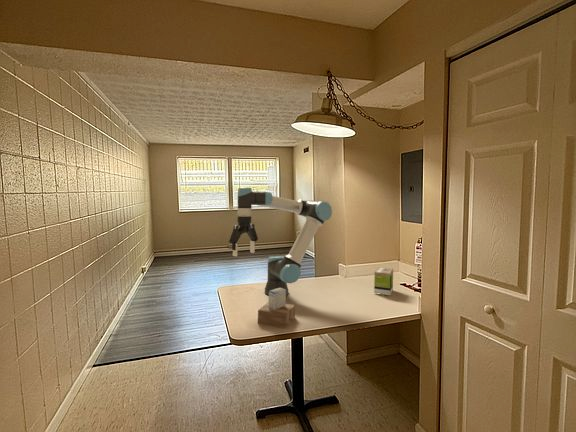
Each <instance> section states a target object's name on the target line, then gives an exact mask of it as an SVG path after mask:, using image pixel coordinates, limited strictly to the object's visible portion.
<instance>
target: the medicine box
mask: <svg viewBox="0 0 576 432" xmlns="http://www.w3.org/2000/svg"><path fill="white" fill-rule="evenodd" d="M286 297H287V295H286V289H283V288H277V289H274V290H270V291H269V295H268V302H269V308H270V309H273V310H276V309H279V308H281V307H284V306H286V304H287V303H286V300H287V299H286Z"/></svg>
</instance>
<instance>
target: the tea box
mask: <svg viewBox="0 0 576 432" xmlns="http://www.w3.org/2000/svg"><path fill="white" fill-rule="evenodd" d="M373 285H374V286H373V289H374V290H373V294H374V293H380V294H386V295H390V296H391V295H392V293H393V291H394V268H387V267H378V268H377V269H376V270H375V271H374V284H373ZM392 290H393V291H392Z"/></svg>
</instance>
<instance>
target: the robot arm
mask: <svg viewBox="0 0 576 432" xmlns="http://www.w3.org/2000/svg"><path fill="white" fill-rule="evenodd" d="M252 206H259V207H264V208H270V209H275V210H280V211H286V212H290V213H294V214H295V215H298V216H302V217H304V218H305V222H304V224H303V225H302V228H301V230H300V232H299V233H298V235H297V237H296V239H295V241H294V243H293V245H292V247H291V248H290V250H289V252H288V254H286V255H282V256H280V255H279V256H270V257H268V258H267V280H266V285H265V287H264V294H265V295H268V296H269V291H270V290H274V289H277V288H283V289H286V296H287V295H288V294H289V287H288V284H293V283H296V282H297V281H298V280H299V278H300V277H301V273H302V271H301V268H302V265H303V264H302V260H303V258H304V256H305V254H306V252H307V251H308V248H309V246H310V245H311V243H312V240H313V239H314V236H315V235H316V233H317V231H318V230H319V227H322V226H323V225H324V223H325V221H329V219H331V217H332V214H333V209H332V206H331V205H330V203H329V202H327V201H324V200H301V199H298V200H294V199H290V198H285V197H279V196H277V195H273V194H272V192H270V191H253V190H252V187H238V189H237V220H236V221H237V224H234V225H233V229H232V232H231V235H230V238H229V241H228V243H229V244H231V251H232V256H233V257H238V244H237V243H238V241H239V239H240V238H241V236H242V234H247V235H248V238H250V241H249V243H250V245H249V249H250V250H249V251H250V253H251V254H254V253H255V250H256V249H255V247H256V242H257V241H258V240H259V239H258V238H259V237H258V234H257V231H256V227H255V223H252Z"/></svg>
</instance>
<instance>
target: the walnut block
mask: <svg viewBox="0 0 576 432" xmlns="http://www.w3.org/2000/svg"><path fill="white" fill-rule="evenodd" d="M295 318H296V305H295V304H292V303H286V306H284V307H281V308H279V309H276V310H273V309H270V308H269V301H268V302H267V303H265V304H264V305H263V306H261V307H260V308H259V309H258V310H257V324H258V325H264V326H267V327H268V326H269V327H276V328H280V329H286V328H287V327H288V326H289V325H290V324H291V322H292V321H294V319H295Z"/></svg>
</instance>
